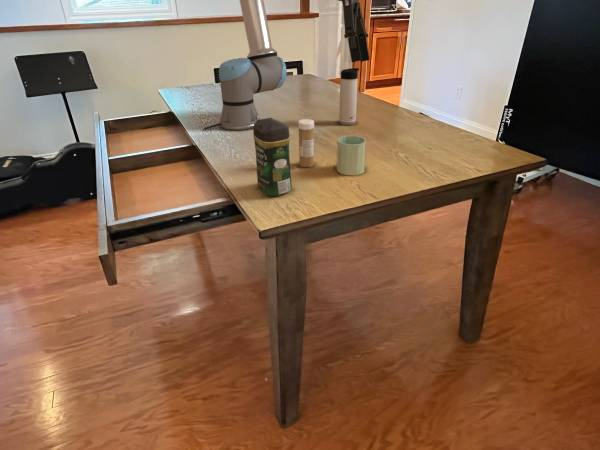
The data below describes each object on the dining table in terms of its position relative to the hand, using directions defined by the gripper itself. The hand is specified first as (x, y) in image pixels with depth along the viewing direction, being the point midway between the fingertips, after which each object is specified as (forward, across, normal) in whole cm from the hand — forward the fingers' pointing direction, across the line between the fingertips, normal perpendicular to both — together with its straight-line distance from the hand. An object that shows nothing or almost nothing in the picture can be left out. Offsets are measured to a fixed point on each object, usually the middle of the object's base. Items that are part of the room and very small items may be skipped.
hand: (361, 61), depth 123 cm
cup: (+29, -15, +5) cm, 33 cm away
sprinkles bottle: (+26, -15, +18) cm, 35 cm away
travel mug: (+20, +28, +14) cm, 37 cm away
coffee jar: (+27, -33, +22) cm, 48 cm away
